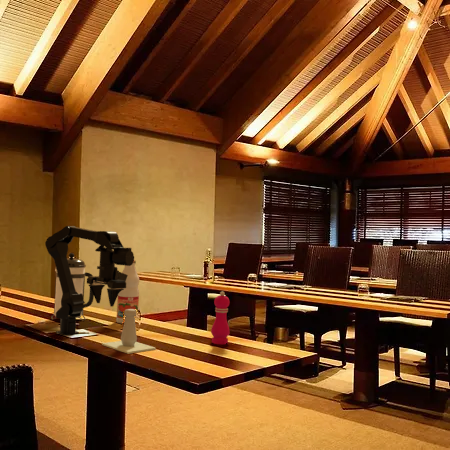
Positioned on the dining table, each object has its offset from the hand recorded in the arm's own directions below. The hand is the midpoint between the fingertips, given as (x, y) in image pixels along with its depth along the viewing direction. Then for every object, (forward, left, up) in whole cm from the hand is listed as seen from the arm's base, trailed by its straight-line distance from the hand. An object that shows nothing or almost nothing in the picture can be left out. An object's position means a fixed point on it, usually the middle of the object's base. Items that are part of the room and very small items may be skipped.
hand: (105, 304), depth 206 cm
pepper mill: (+29, +34, -13) cm, 47 cm away
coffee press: (-42, +10, -13) cm, 45 cm away
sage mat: (+16, 0, -13) cm, 21 cm away
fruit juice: (-24, +28, -13) cm, 39 cm away
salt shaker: (+16, 0, -13) cm, 21 cm away
